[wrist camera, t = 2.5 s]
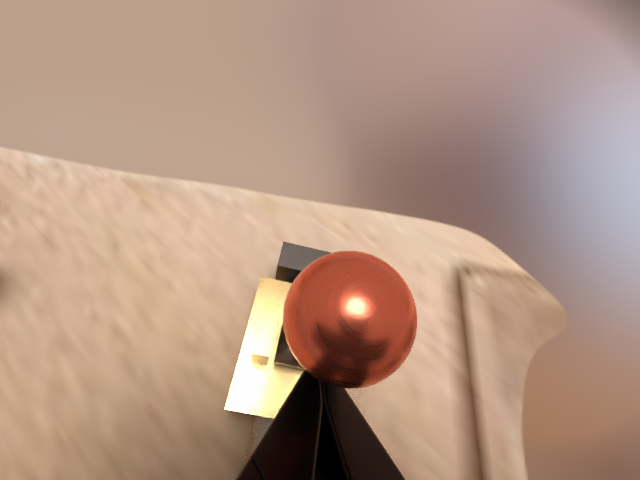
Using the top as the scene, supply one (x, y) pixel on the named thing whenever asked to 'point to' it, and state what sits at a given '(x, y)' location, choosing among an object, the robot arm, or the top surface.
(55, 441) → the top surface
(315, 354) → the valve lever
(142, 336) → the top surface
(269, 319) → the valve pipe
